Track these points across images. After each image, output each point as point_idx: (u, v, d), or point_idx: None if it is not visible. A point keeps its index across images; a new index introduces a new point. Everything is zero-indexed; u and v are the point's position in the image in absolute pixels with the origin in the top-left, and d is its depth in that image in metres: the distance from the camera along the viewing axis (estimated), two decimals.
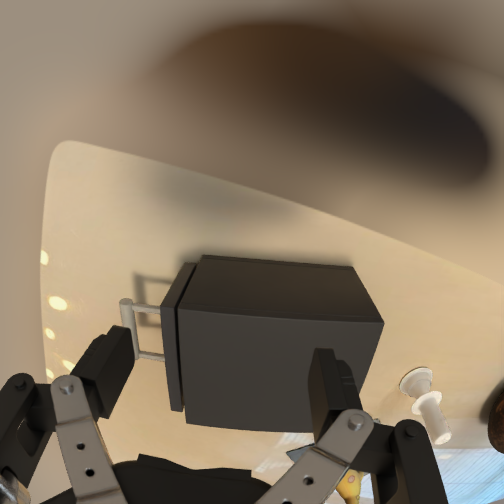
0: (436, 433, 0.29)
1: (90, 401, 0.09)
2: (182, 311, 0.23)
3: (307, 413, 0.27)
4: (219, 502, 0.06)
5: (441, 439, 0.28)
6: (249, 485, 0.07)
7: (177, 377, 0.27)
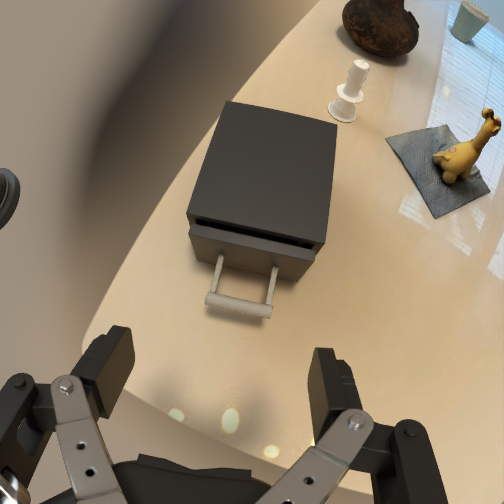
0: (357, 70, 0.40)
1: (90, 401, 0.09)
2: (189, 210, 0.31)
3: (308, 144, 0.34)
4: (219, 502, 0.06)
5: (361, 64, 0.40)
6: (249, 485, 0.07)
7: (265, 240, 0.32)
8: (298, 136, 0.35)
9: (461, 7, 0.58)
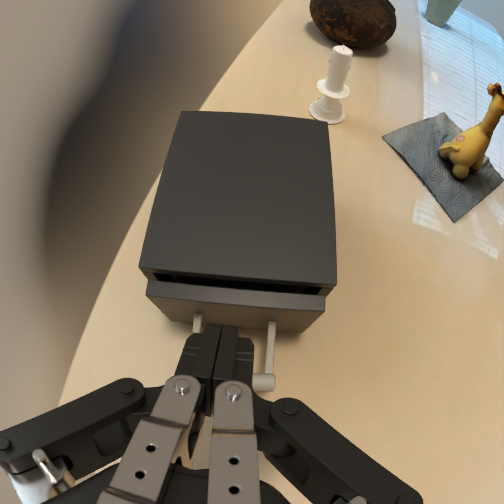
0: (338, 57, 0.33)
1: (204, 400, 0.10)
2: (142, 262, 0.22)
3: (294, 150, 0.26)
4: None
5: (343, 50, 0.33)
6: None
7: (252, 291, 0.22)
8: (279, 141, 0.26)
9: None
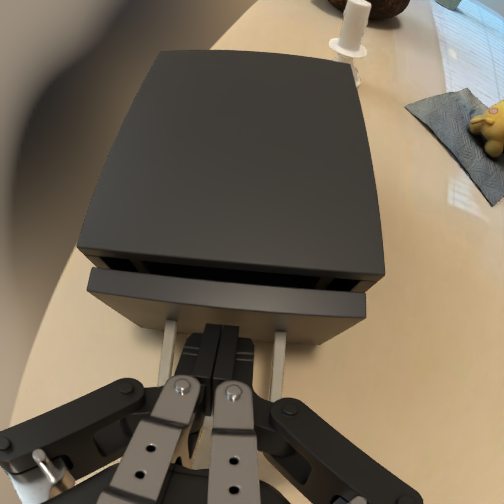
0: (355, 9, 0.25)
1: (203, 400, 0.10)
2: (82, 240, 0.13)
3: (309, 91, 0.18)
4: None
5: (360, 1, 0.24)
6: None
7: (251, 285, 0.14)
8: (289, 80, 0.18)
9: None
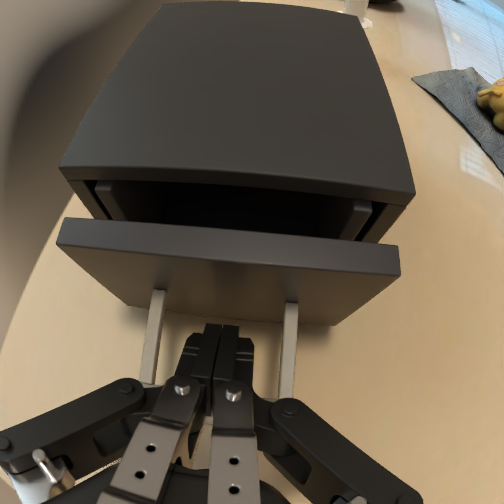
0: None
1: (203, 400, 0.10)
2: (65, 160, 0.11)
3: (317, 32, 0.15)
4: None
5: None
6: None
7: (257, 233, 0.11)
8: (296, 23, 0.16)
9: None
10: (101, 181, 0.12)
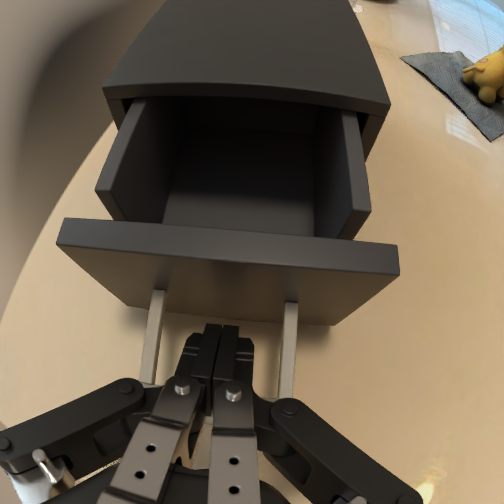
0: None
1: (203, 400, 0.10)
2: (108, 82, 0.13)
3: (311, 4, 0.17)
4: None
5: None
6: None
7: (257, 233, 0.11)
8: None
9: None
10: (101, 181, 0.12)
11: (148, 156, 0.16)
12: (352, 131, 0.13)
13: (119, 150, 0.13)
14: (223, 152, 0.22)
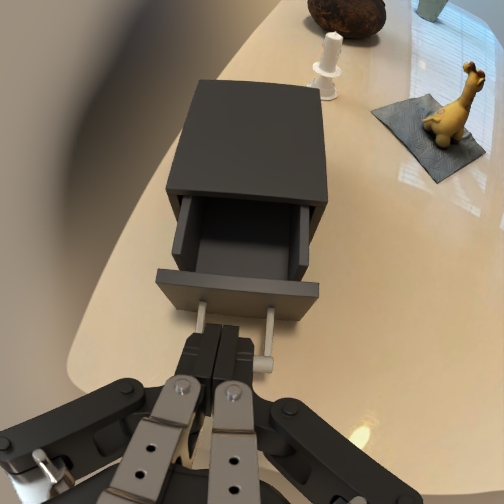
0: (330, 42, 0.38)
1: (203, 400, 0.10)
2: (168, 185, 0.27)
3: (291, 108, 0.31)
4: None
5: (334, 36, 0.38)
6: None
7: (253, 278, 0.24)
8: (280, 101, 0.31)
9: None
10: (174, 249, 0.26)
11: (192, 226, 0.29)
12: (304, 218, 0.27)
13: (181, 230, 0.26)
14: (233, 211, 0.36)
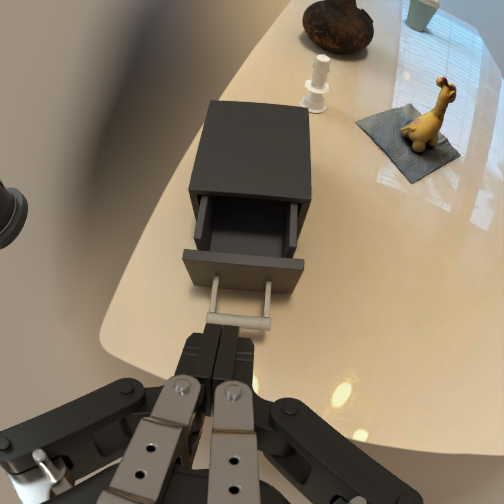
0: (320, 63, 0.47)
1: (203, 400, 0.10)
2: (190, 187, 0.35)
3: (285, 125, 0.40)
4: None
5: (323, 58, 0.46)
6: None
7: (255, 255, 0.33)
8: (275, 120, 0.40)
9: None
10: (196, 235, 0.34)
11: (208, 218, 0.38)
12: (293, 212, 0.36)
13: (201, 221, 0.35)
14: (238, 208, 0.45)
